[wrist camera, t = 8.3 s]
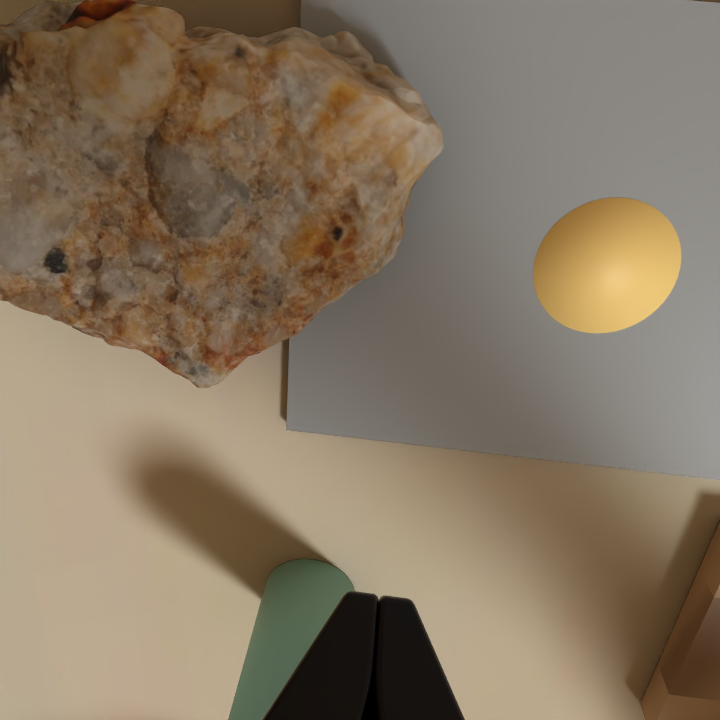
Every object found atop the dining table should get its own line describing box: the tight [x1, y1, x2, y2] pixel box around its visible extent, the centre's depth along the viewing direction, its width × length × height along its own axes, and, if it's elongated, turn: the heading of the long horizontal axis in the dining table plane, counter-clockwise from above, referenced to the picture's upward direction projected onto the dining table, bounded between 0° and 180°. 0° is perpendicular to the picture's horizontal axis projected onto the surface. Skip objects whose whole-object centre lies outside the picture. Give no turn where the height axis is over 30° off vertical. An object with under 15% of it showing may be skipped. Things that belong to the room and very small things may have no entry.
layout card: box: [286, 0, 720, 480], centre depth 17 cm, size 16×12×1 cm
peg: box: [228, 559, 355, 720], centre depth 21 cm, size 3×3×6 cm
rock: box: [0, 0, 444, 388], centre depth 14 cm, size 9×6×10 cm
